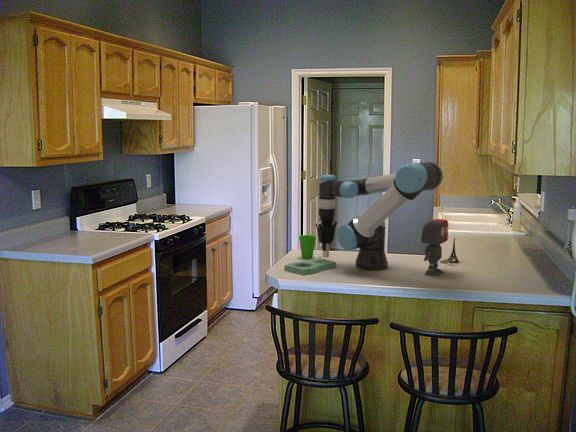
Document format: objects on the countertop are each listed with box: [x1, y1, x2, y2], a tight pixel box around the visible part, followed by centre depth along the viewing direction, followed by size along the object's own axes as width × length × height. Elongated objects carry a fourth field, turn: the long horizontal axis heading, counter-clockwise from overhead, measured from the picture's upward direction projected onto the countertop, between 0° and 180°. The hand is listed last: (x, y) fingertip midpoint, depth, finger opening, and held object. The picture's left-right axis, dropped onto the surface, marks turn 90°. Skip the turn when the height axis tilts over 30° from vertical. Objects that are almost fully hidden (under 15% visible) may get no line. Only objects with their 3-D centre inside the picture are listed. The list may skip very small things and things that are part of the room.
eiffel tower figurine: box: [438, 236, 461, 267], centre depth 277 cm, size 15×10×13 cm
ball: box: [314, 254, 322, 262], centre depth 265 cm, size 3×3×3 cm
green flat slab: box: [284, 257, 337, 276], centre depth 262 cm, size 22×14×2 cm, turn 135°
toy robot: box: [420, 207, 449, 277], centre depth 253 cm, size 22×9×30 cm, turn 148°
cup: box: [298, 234, 318, 260], centre depth 283 cm, size 9×9×11 cm
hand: (325, 256), depth 269 cm, fingers closed
